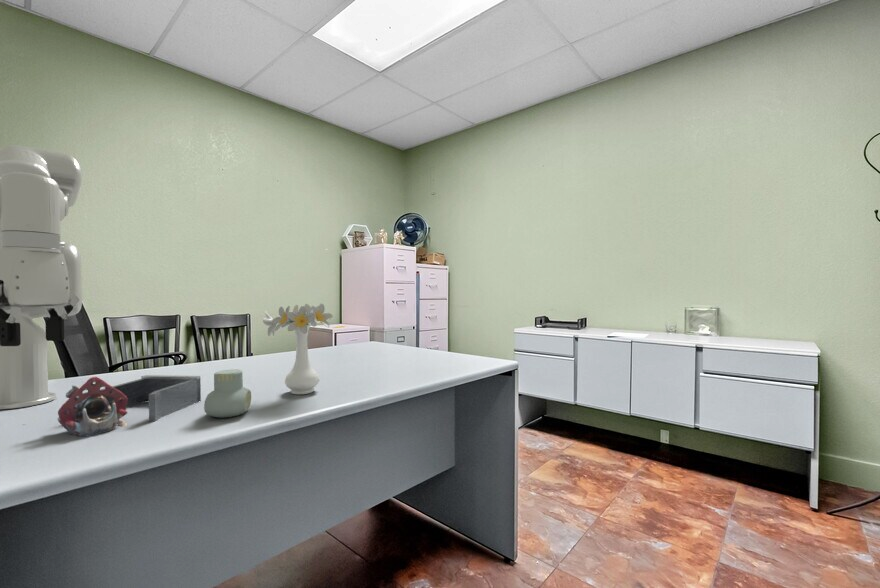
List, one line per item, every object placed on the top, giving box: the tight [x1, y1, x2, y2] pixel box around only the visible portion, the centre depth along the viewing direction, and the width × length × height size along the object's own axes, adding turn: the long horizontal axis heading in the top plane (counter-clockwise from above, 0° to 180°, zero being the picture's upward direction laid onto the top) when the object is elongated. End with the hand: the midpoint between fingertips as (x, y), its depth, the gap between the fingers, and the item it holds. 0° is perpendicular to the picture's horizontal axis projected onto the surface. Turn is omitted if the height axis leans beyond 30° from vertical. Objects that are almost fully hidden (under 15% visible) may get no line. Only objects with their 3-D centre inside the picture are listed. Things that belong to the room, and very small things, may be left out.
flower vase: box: [262, 303, 334, 396], centre depth 112 cm, size 13×18×25 cm
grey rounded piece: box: [203, 368, 252, 419], centre depth 93 cm, size 11×8×10 cm
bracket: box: [83, 374, 202, 422], centre depth 97 cm, size 17×16×7 cm
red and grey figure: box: [57, 376, 128, 437], centre depth 84 cm, size 11×11×12 cm
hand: (33, 342), depth 72 cm, fingers open, 6 cm apart
